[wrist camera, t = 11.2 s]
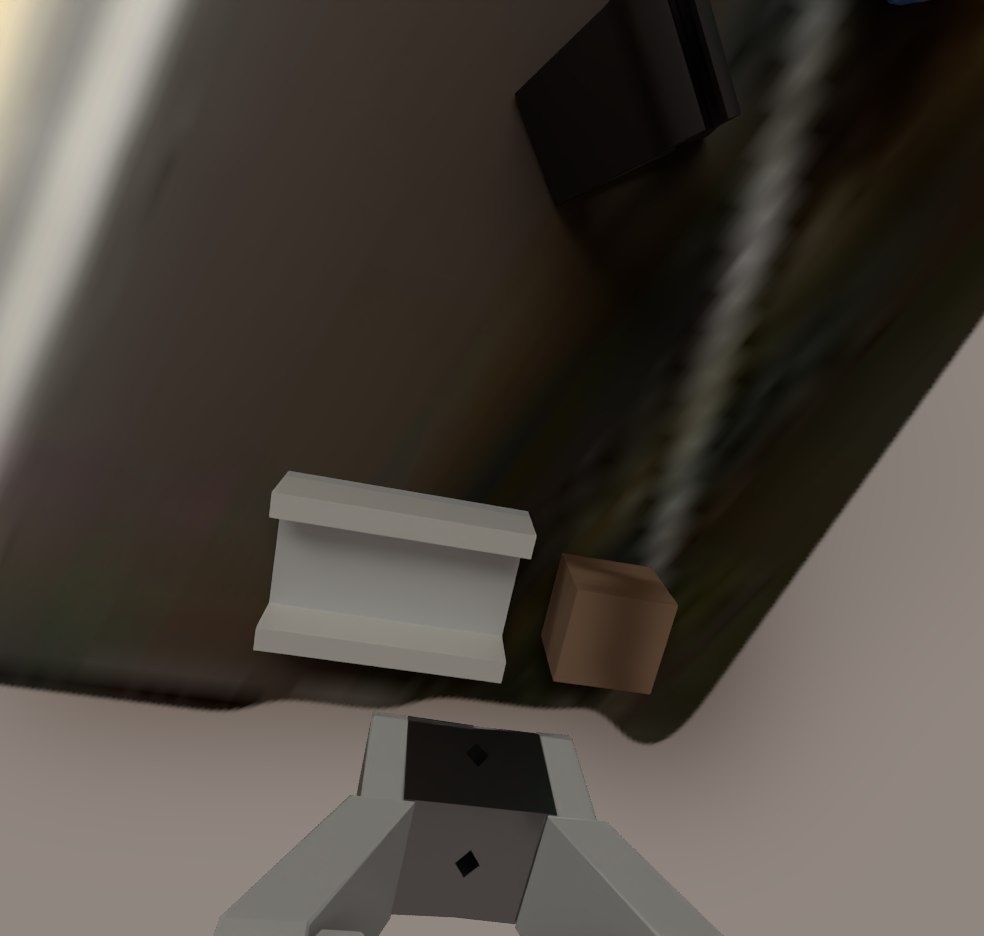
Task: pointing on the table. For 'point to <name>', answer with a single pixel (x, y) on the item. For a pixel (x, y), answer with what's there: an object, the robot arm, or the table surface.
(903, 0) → the snack cup
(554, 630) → the walnut block
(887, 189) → the table surface
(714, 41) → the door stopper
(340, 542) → the chute
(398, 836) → the robot arm
